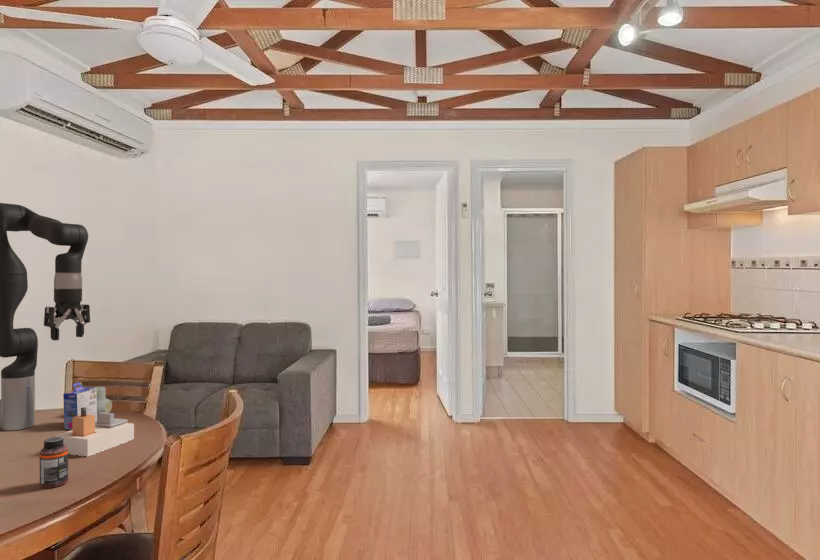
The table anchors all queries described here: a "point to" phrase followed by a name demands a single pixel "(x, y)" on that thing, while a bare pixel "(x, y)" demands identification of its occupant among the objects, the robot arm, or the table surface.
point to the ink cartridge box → (79, 403)
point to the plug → (83, 424)
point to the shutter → (108, 420)
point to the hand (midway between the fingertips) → (67, 338)
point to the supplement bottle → (53, 463)
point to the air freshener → (102, 400)
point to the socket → (98, 439)
